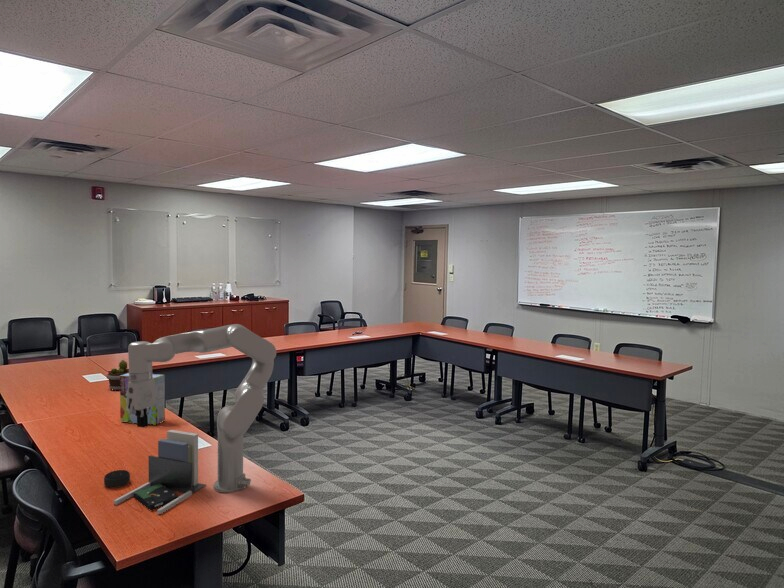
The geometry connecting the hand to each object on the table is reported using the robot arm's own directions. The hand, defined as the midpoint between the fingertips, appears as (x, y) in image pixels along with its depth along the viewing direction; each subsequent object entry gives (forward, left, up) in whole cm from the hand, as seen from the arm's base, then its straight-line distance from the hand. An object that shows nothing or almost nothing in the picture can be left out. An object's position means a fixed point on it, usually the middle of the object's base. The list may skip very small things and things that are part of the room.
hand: (142, 426), depth 182 cm
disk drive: (-3, -3, -29) cm, 29 cm away
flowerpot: (+133, -116, -28) cm, 179 cm away
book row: (-2, -14, -28) cm, 31 cm away
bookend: (-2, -15, -28) cm, 32 cm away
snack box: (+68, -70, -28) cm, 102 cm away
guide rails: (-2, -3, -28) cm, 28 cm away
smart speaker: (+21, -8, -28) cm, 36 cm away
